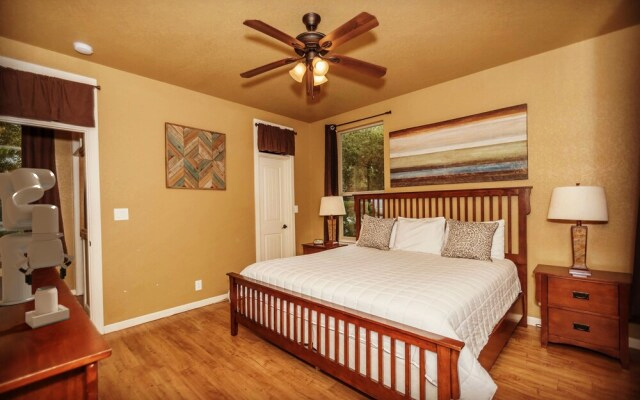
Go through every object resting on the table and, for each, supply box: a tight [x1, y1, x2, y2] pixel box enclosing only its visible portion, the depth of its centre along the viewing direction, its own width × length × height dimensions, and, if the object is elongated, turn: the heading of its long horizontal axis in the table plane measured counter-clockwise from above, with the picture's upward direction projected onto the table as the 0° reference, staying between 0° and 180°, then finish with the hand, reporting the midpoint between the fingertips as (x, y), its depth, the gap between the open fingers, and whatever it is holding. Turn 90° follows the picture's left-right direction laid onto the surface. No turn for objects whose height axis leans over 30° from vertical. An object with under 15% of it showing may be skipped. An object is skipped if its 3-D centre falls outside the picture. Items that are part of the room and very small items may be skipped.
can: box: [34, 285, 59, 316], centre depth 116 cm, size 6×6×12 cm
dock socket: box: [25, 304, 70, 329], centre depth 116 cm, size 10×10×4 cm
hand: (46, 281), depth 116 cm, fingers open, 9 cm apart
